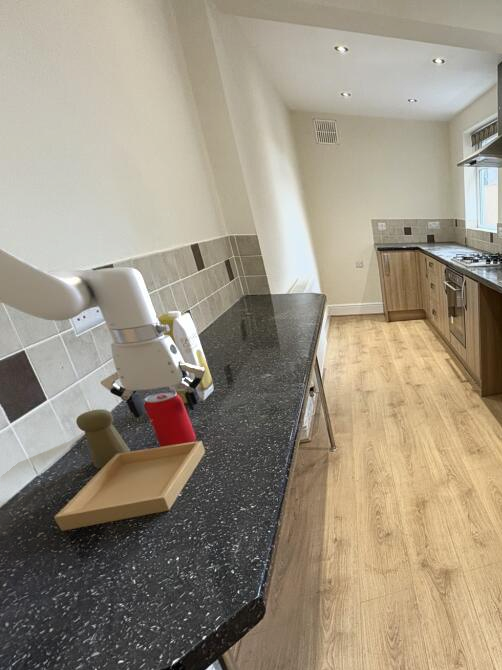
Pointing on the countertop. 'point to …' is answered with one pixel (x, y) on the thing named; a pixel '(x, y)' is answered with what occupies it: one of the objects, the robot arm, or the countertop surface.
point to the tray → (133, 485)
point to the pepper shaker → (101, 436)
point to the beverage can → (169, 418)
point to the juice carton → (188, 350)
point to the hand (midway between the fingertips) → (168, 410)
